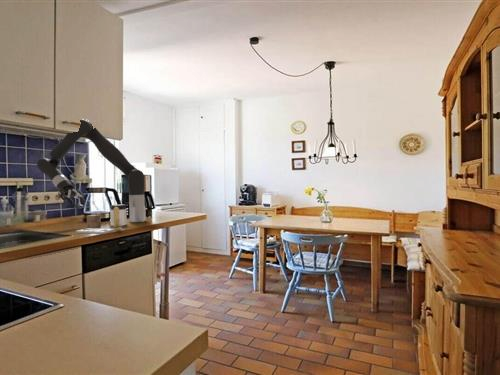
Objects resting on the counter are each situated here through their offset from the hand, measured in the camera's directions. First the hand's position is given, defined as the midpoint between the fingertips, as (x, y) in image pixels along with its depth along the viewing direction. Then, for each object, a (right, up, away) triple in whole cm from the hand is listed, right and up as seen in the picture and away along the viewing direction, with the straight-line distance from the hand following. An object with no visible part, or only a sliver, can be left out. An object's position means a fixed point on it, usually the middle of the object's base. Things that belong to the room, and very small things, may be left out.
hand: (78, 203), depth 184 cm
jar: (+21, -13, +6) cm, 26 cm away
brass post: (+27, -14, -12) cm, 33 cm away
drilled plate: (+19, -14, -19) cm, 30 cm away
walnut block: (+10, -14, -3) cm, 17 cm away
